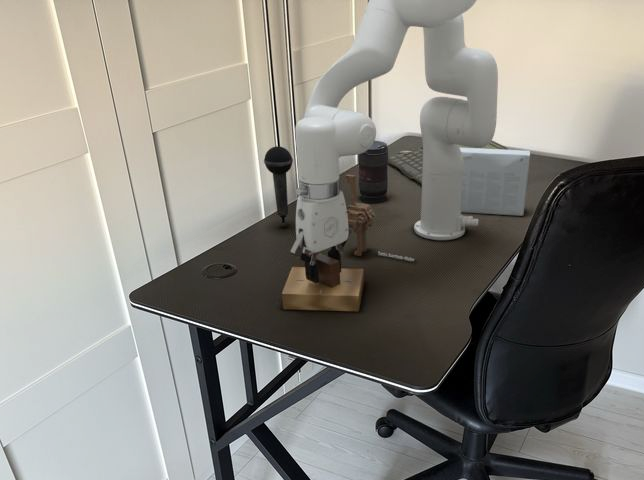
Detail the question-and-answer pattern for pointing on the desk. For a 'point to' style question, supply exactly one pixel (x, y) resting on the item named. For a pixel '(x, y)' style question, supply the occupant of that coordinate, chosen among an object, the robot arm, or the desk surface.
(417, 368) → the desk surface
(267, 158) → the microphone
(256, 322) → the desk surface
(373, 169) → the camera lens
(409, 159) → the computer keyboard
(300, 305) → the wooden dial board
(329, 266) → the arm
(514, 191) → the skincare box
